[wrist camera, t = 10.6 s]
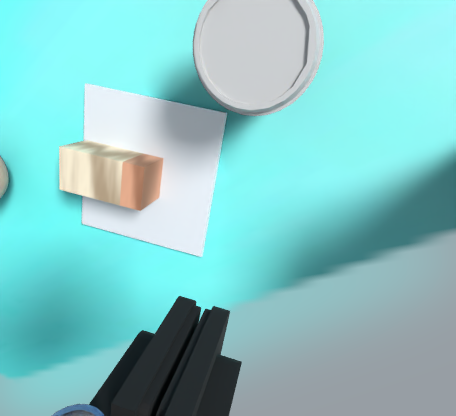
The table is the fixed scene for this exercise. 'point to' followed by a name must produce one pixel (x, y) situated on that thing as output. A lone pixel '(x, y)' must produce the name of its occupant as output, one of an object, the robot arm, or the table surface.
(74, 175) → the maple block
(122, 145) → the white square plate
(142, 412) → the robot arm
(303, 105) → the table surface
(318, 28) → the disposable coffee cup
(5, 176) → the decorative fruit
